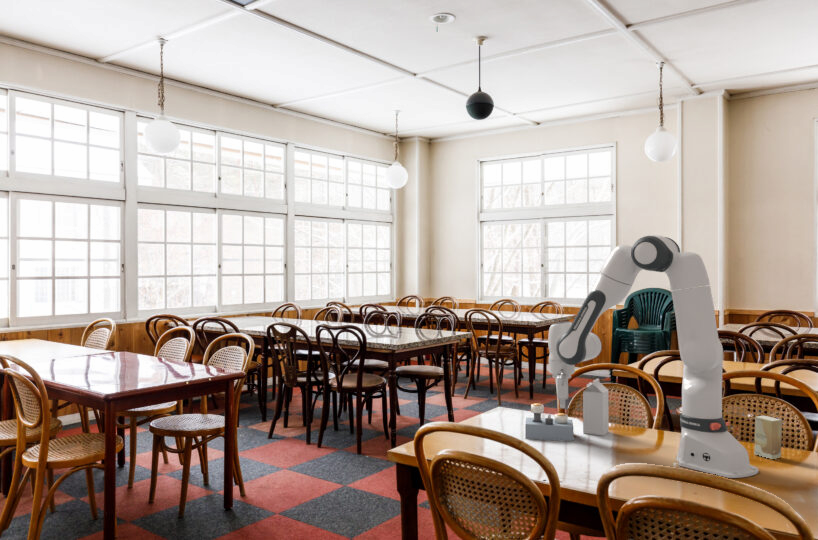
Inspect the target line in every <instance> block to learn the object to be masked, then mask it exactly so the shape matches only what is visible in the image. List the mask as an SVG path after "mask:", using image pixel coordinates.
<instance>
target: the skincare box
mask: <svg viewBox="0 0 818 540" xmlns="http://www.w3.org/2000/svg"><path fill="white" fill-rule="evenodd" d="M754 420H755V422H754V455H755V456H757V455H759V457H761V456H762V458H764V457H766V458H765V459H767V458H770V459H775V458H779V457H781V458H782V435H783V433H782V431H783V420H782V419H780V418H775V417H772V416H767V415H758V416H755V419H754ZM770 459H769V460H770ZM775 460H776V459H775Z"/></svg>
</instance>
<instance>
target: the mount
mask: <svg viewBox="0 0 818 540" xmlns="http://www.w3.org/2000/svg"><path fill="white" fill-rule="evenodd" d="M545 418H546V417H544V418H543V417H541V423H540V422H534V417H526V418H525V424H524V425H525V428H524V429H525V433H524V434H525V435H524V436H525V439H526V440H527V439H528V440H529V439H530V440H545V441H546V440H547V441H563V442H574V422H573V419H568V422H567V423H565V424H559V423H556V422H555V418H552V419H553V425H546V424H545Z"/></svg>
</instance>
